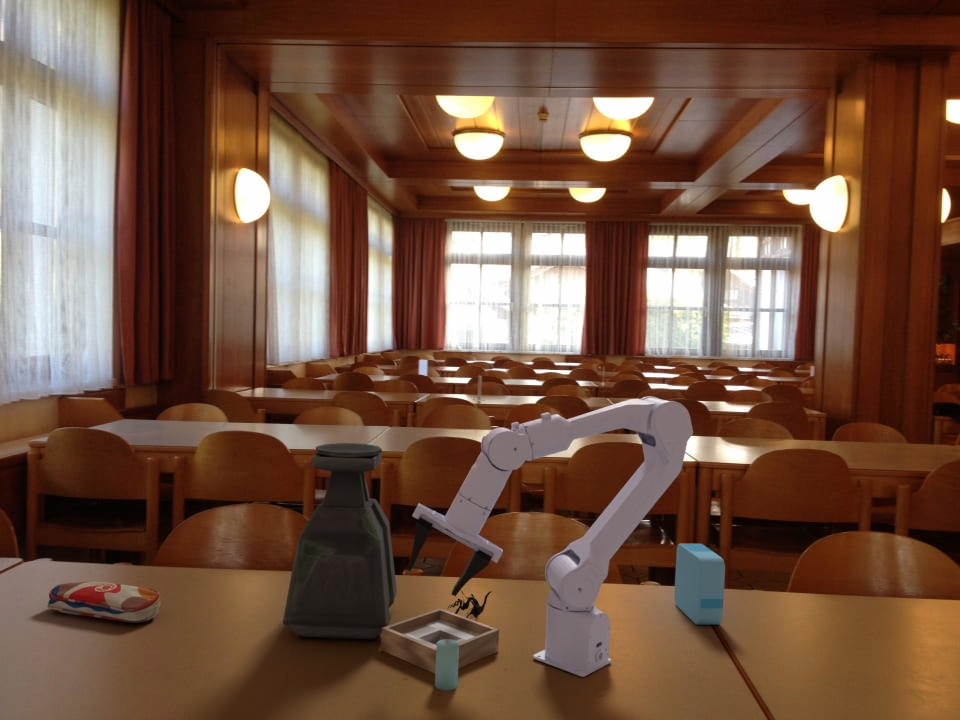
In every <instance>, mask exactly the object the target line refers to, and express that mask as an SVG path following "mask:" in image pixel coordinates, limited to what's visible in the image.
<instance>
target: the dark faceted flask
mask: <svg viewBox="0 0 960 720" xmlns="http://www.w3.org/2000/svg"><path fill="white" fill-rule="evenodd" d="M315 451H316V453H315V454H313V455H312V456H311V462H312V463H311V468H313V469H316V470H322V471H327V472H330V473H331V474H330V475H329V480H328V484H327V487H326V492H325V495H324V498H323V500H322V501H321V503H320V504H318V505H317V506H316V508H315V509H314V510H313V512H312V514H311V516H310V518H308V519H309V520H307V523H306V524H305V526H304V527H303V529H302V530H301V533H300V534H299V536H298V538H297V543H296V546H295V547H296V548H295V554H294V558H293V564H292V568H291V569H292V570H291V575H290V580H289V585H288V592H287V596H286V602H285V609H284V613H283V619H282V625H284V627H286V628H288V629H289V630H290V631H291V632H292V633H294V634H295V635H296V636H298V637H300V638H301V637H302V638H322V639H323V638H324V639H350V640H351V639H353V640H375V639H376V638H377V637H378V636H379V635H380V634H382V628H383V627H386V626H388V622H389V619H390V617H391V616H390V615H391V614H390V613H391V612H390V608H391V607H392V605H393V604H394V602H395V598H396V596H397V592H398V591H397V582H396V581H397V580H396V574H395V563H394V553H393V552H394V551H393V545H392V536H391V535H392V534H391V525H390V521H389V519H388V518H387V515H386V514H385V512H384V510H383V508H382V507H381V506H380V504H379V502H378V500H377V499H375V498H370V493H369V487H368V484H367V483H368V482H367V478H366V472H370V471H375V470H376V468H377V467H378V465H379V464H380V462H381V461H382V459H383V457H382V455H383V453H382V452H383V449H382V448H381V447H380V446H379V445H375V444H368V443H354V442H351V443H349V442H339V443H338V442H337V443H326V444H325V443H324V444H322V445H321V444H320V445H317V446H315Z"/></svg>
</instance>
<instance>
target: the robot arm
mask: <svg viewBox="0 0 960 720" xmlns="http://www.w3.org/2000/svg"><path fill="white" fill-rule="evenodd" d="M510 425H511V428H506V427H495V428H494V429H491V430H490V431H489V433H486V434H485V435H484V436H483V437H482V438H481V443H480V449H481V451H480V453H479V455H478V456H477V458H476V460H475V462H474V464H473V465H472V466H471V467H470V470H469V471H468V474H467V476H466V477H465V479H464V480H463V483H462V484H461V486H460V488H459V490H458V492H457V494H456V495H455V497H454V499H453V501H452V502H451V504H450V507H449V508H448V510H447V512H446V514H445V515H443V514H442V513H439V512H437V511H436V510H433V509H432V508H429V507H427V506H426V505H423V504H421V503H420V502H419V503H418V504H417V505H416V508H415V509H414V512H413V513H412V517H413V518H414V519H416V523H415V530H414V541H413V547H412V551H411V555H410V559H409V561H408V565H407V566H406V569H405V570H407V571H408V572H411V571H412V569H413V567H414V565H415V563H416V561H417V558H418V556H419V554H420V552H421V551H422V548H423V547H424V544H425V543H426V541H427V540H428V537H429V536H430V534H431V532H432V531H433V530H432V529H433V528H434V529H436V530H438V531H440V532H441V533H443V534H445V535H448V536H449V537H451V538H452V539H454V540H456V541H458V542H459V543H462V544H463V545H465V546H467V547H469V548H471V549H472V550H473V552H472V554H471V557H470V559H469V561H468V562H467V565H466V566H465V568H464V570H463V572H462V573H461V575H460V577H458V578H459V579H458V580H457V581H456V583H455V584H454V586H453V589H452V590H451V596H453V597H457V595H458V593H459V592H461V591H462V588H464V586H466V584H467V583H468V582H469V581H470V580H472V578H473V577H475V576H476V575H478V574H479V573H480V572H482V570H484V569H486V568H487V567H488V566H489V564H490V563H491V561H492V562H494V563H496V564H498V562H499V560H500V558H501V557H502V555H503V553H504V551H503V549H502V548H501V547H499V546H498V545H496V544H494V543H493V542H491V541H490V540H488V539H486V538H484V537H483V536H481V535H480V532H481V530H482V529H483V527H484V525H485V523H486V521H487V520H488V518H489V516H490V514H491V512H492V510H493V508H494V506H495V505H496V503H497V501H498V499H499V497H500V496H501V493H502V492H503V490H504V488H505V486H506V484H507V481H508V480H509V477H510V475H512V472H513V470H517V469H519V468H521V467H522V465H523V464H524V463H525V461H529V462H530V461H533V460H536V459H540V458H544V457H547V456H550V455H554V454H558V453H560V452H561V453H562V452H565V451H568V449H569V448H570V446H571V444H572V443H573V442H574V440H578V439H582V438H586V437H591V436H594V435H599V434H604V433H607V432H612V431H616V430H619V429H627V430H631V431H634V432H636V434H637V435H638V437H639V439H640V442H641V447H642V452H643V457H644V461H643V462H642V463H641V464H640V466H639V467H637V469H636V471H635V472H634V473H633V474H632V476H631V477H630V478H629V480H628V481H627V482H626V483H625V484H624V486H622V488H621V489H620V490H619V492H618V493H617V494H616V495H615V497H613V499H612V500H611V502H610V503H609V504H608V505H607V507H606V508H604V510H603V511H602V513H601V514H600V515H599V516H598V517H597V519H596V520H595V521H594V523H592V525H591V526H590V528H589V529H588V530H587V531H586V532H585V534H584V535H583V536H582V537H580V538H578V539H576V540H573V541H572V542H569V544H568V545H567V546H566V548H564V549H563V550H562V551H560V552H558V553H555V554H554V555H553V556H551V557H550V558H549V559H548V561H547V563H546V565H545V568H544V577H545V581H546V582H547V584H548V585H549V586H550V591H549V594H547V597H546V599H547V600H546V618H545V619H546V623H545V642H544V649H543V650H540V651H539V652H537V653H534V654H533V655H532V658H533V659H534V660H537V661H539V662H542V663H545V664H547V665H550V666H552V667H555V668H558V669H560V670H563V671H566V672H568V673H571V674H573V675H576V676H578V677H583V678H585V677H587V676H588V675H590V674H591V673H593V672H596V671H598V670H599V669H601V668H603V667H605V666H607V665H609V664H610V663H612V659H611V658H610V639H611V638H610V635H611V623H610V622H611V621H610V618H609V616H608V614H607V613H605V612H603V611H601V610H600V609H598V607H596V606H595V602H596V601H597V599H598V597H599V595H600V590H601V587H602V584H604V583H603V582H604V581H605V580H606V578H607V577H608V573H609V565H610V560H611V559H612V558H613V557H614V555H615V554H616V553H617V552H618V550H619V549H620V547H621V546H622V545H623V544H624V543H625V542H626V540H627V539H628V537H630V535H631V534H632V533H633V531H635V529H636V528H637V527H638V525H639V524H640V523H641V521H642V520H643V519H644V518H645V516H646V515H647V514H648V513H649V512H650V511H651V509H652V508H653V507H654V506H655V504H656V503H657V502H658V501H659V499H660V498H661V496H662V495H663V494H664V493H665V492H666V491H667V489H668V488H669V487H670V486H671V485H672V483H673V482H674V480H676V478H677V477H678V476H679V474H680V472H681V470H683V463H684V459H685V456H686V449H687V445H688V442H689V440H690V439H691V437H692V436H693V434H694V430H693V425H692V419H691V416H690V412H689V410H688V409H687V407H685V406H684V405H683V404H682V403H680V402H677V401H675V400H665V399H661V398H659V397H656V396H653V395H649V396H648V395H647V396H644V397H642V398H641V397H640V398H632V399H627V400H624V401H620V402H617V403H614V404H612V405H611V404H610V405H607V406H605V407H601V408H599V409H595V410H593V411H589V412H586V413H583V414H580V415H577V416H574V417H570V418H568V419H566V418H564V417H563V416H561V415H560V414H558V413H555V414H552V413H551V412H548V411H547V412H542V413H541V414H540V418H537V419H534V420H530V421H526V422H523V423H519V422H518V421H515V422H511V424H510Z"/></svg>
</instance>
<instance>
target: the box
mask: <svg viewBox="0 0 960 720" xmlns="http://www.w3.org/2000/svg"><path fill="white" fill-rule="evenodd" d="M466 617H467V616H463V615H460V614H458V613H457V614H455V612H451V611H448V610H446V609H443V608H441V607H440V608H436V609H434V610H430V611H428V612H424V613H421V614H419V615H415V616H413V617H410V618H407V619H405V620H404V619H403V620H401V621H399V622H395V623H392V624H390V625H387V626H386V627H383V628H382V632H381V639H380V641H381V644H380V650H381V651H382V652H385V653H387V654H390V655H391V656H394V657H396V658H398V659H400V660H402V661H405V662H407V663H410V664H412V665H415V666H416V667H419V668H421V669H423V670H425V671H428V672H430V673H431V674H434V675H435V670H436V644H437V642H438V641H440V640H444V639H451V640H455V641H457V642H458V643H459V659H458V670H459V669H461V668H463V667H466V666H468V665H470V664H473V663H475V662H477V661H480V660H481V659H482V660H483V659H484V658H486V657H488V656H489V657H490V655H493V654H495V653H498V652H499V640H500V629H499V628H496V627H492V626H491V625H488V624H484V623H482V622H479V621H477V620H473V619H471V618H469V617H468V618H466Z"/></svg>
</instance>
